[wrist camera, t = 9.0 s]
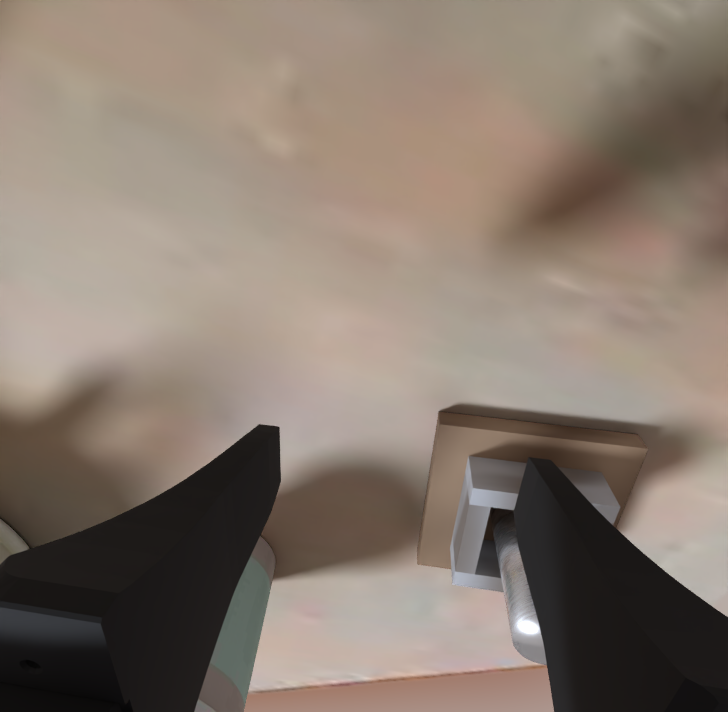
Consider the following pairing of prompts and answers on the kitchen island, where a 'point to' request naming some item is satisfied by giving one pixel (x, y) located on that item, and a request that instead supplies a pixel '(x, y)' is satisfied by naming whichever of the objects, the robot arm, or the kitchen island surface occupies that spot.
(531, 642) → the shaft
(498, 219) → the kitchen island surface
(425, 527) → the block
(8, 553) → the kettle
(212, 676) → the coffee cup
